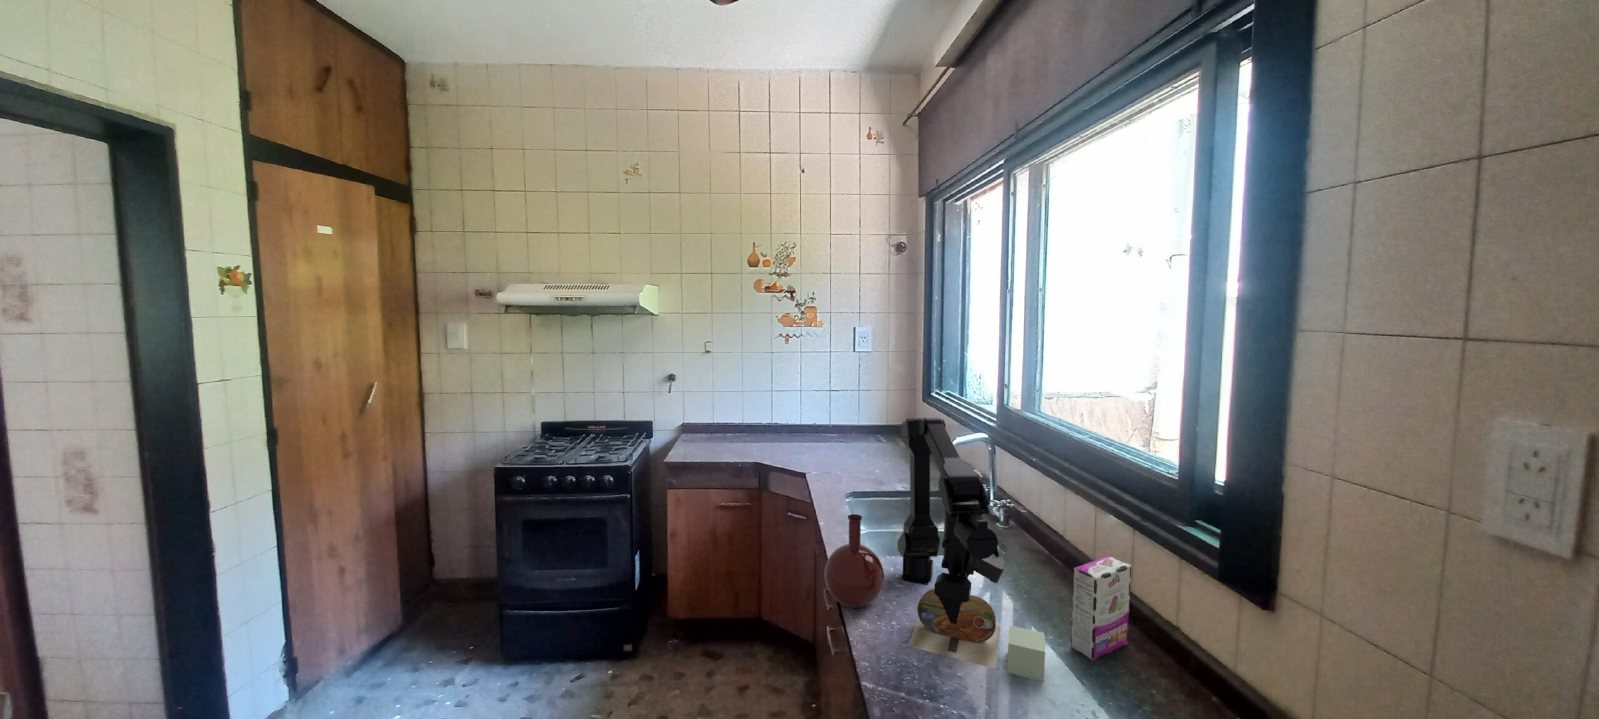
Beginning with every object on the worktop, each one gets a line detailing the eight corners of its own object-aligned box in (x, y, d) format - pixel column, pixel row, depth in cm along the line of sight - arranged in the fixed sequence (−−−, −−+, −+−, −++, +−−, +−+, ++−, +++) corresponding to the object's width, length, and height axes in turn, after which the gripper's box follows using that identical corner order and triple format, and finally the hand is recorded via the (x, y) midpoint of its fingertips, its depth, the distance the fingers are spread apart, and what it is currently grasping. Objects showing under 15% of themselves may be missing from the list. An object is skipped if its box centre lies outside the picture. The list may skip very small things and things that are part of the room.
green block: (1007, 674, 96) (1008, 643, 95) (1008, 655, 101) (1009, 625, 101) (1043, 684, 93) (1045, 651, 93) (1042, 663, 99) (1044, 632, 98)
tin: (916, 628, 108) (917, 589, 108) (919, 620, 111) (920, 582, 110) (994, 648, 102) (996, 606, 101) (995, 638, 105) (997, 598, 104)
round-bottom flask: (844, 626, 110) (846, 533, 108) (813, 596, 121) (814, 512, 119) (895, 610, 116) (897, 522, 114) (861, 583, 127) (862, 502, 126)
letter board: (908, 648, 103) (908, 645, 103) (921, 610, 116) (922, 609, 116) (995, 670, 96) (995, 668, 96) (1000, 628, 109) (1000, 626, 109)
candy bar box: (1103, 631, 109) (1108, 554, 107) (1128, 645, 104) (1133, 565, 103) (1068, 647, 103) (1072, 566, 102) (1092, 662, 99) (1097, 578, 98)
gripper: (1000, 563, 92) (996, 648, 94) (1005, 524, 109) (1002, 596, 111) (934, 551, 97) (932, 633, 98) (949, 516, 114) (947, 585, 115)
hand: (956, 610), depth 105 cm, fingers open, 9 cm apart
